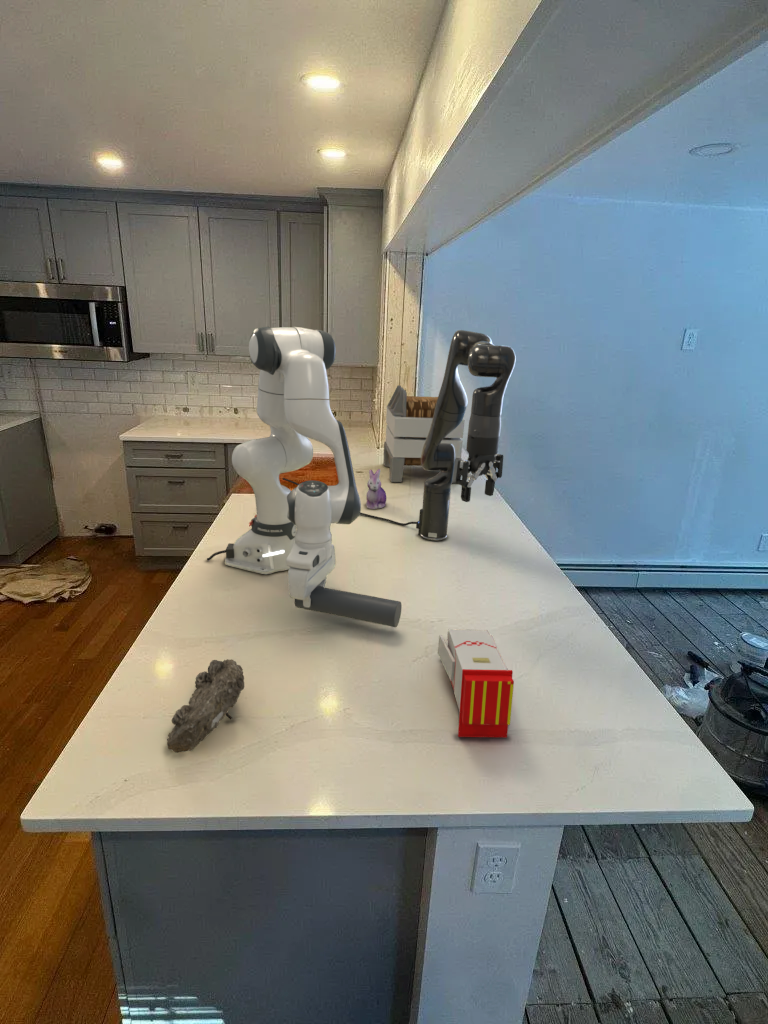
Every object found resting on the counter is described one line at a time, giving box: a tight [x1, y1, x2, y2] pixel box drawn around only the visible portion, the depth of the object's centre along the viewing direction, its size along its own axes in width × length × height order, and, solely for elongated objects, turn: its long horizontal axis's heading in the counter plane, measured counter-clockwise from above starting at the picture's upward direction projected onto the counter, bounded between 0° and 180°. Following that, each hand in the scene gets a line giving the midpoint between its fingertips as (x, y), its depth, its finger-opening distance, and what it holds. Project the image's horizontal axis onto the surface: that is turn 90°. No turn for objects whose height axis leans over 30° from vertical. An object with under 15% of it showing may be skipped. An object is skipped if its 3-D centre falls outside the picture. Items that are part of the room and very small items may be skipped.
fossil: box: [166, 658, 245, 754], centre depth 106 cm, size 22×10×15 cm
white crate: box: [383, 384, 465, 484], centre depth 268 cm, size 34×33×41 cm
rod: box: [294, 586, 402, 628], centre depth 139 cm, size 26×6×6 cm, turn 72°
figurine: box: [365, 468, 387, 510], centre depth 224 cm, size 9×10×15 cm
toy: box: [437, 628, 515, 738], centre depth 117 cm, size 12×13×30 cm
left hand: (314, 599), depth 142 cm, fingers closed on rod, 6 cm apart
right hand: (477, 498), depth 139 cm, fingers open, 8 cm apart
